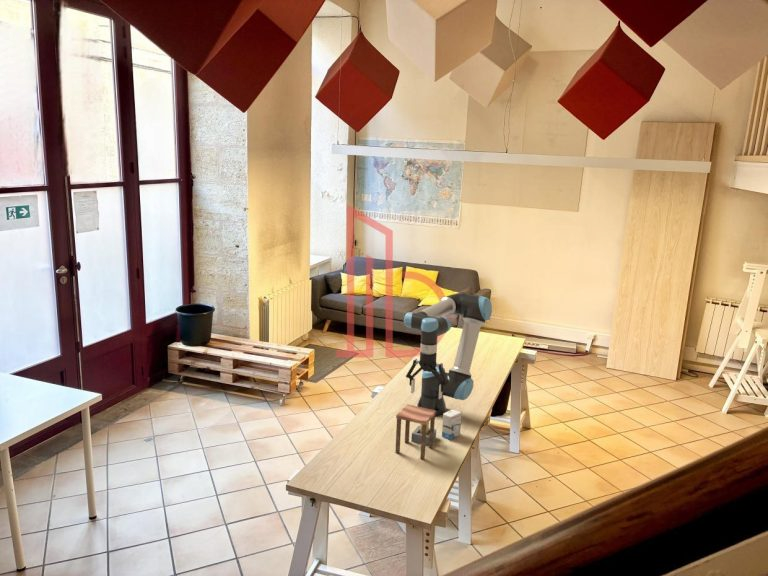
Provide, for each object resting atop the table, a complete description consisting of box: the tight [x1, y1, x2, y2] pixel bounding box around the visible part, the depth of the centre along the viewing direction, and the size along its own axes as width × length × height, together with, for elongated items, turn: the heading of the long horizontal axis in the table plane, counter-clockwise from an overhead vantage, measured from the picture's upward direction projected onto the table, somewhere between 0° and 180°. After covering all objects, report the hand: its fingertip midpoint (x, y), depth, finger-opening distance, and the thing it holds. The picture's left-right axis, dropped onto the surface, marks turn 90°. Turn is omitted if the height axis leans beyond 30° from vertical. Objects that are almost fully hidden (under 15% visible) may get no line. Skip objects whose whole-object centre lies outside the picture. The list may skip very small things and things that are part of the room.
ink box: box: [441, 409, 462, 440], centre depth 286 cm, size 9×5×12 cm, turn 135°
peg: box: [419, 421, 430, 435], centre depth 281 cm, size 4×4×14 cm
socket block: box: [411, 425, 437, 446], centre depth 283 cm, size 9×9×4 cm
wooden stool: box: [394, 403, 436, 461], centre depth 270 cm, size 13×14×18 cm
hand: (426, 395), depth 278 cm, fingers open, 13 cm apart
